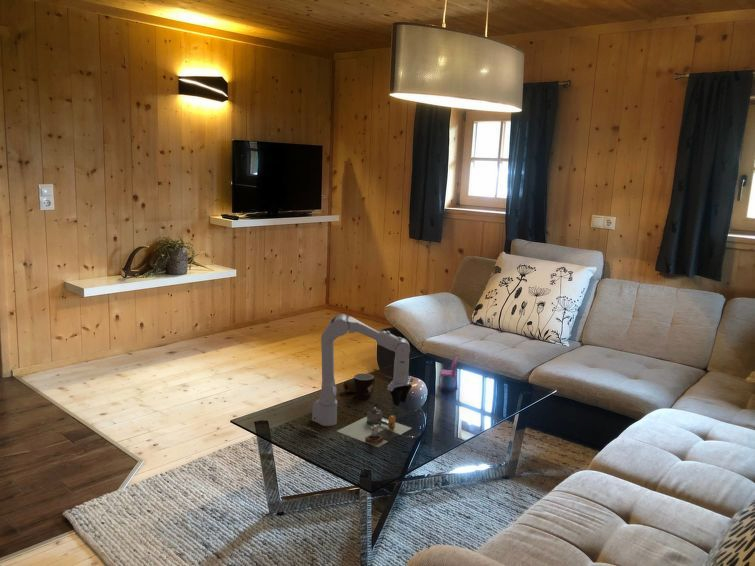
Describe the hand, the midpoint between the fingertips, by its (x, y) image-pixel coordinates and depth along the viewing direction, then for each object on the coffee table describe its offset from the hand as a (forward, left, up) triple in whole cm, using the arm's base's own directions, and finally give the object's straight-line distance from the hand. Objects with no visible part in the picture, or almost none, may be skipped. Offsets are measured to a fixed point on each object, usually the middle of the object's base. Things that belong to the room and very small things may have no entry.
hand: (399, 403), depth 240 cm
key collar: (+2, -18, -9) cm, 20 cm away
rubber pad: (+2, -10, -9) cm, 14 cm away
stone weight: (-36, +20, -10) cm, 43 cm away
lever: (-2, -5, -8) cm, 10 cm away
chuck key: (+2, -18, -9) cm, 20 cm away
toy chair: (-8, +52, -10) cm, 54 cm away
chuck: (-8, -4, -9) cm, 13 cm away
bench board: (-4, -10, -10) cm, 14 cm away
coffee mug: (-28, +16, -10) cm, 34 cm away
